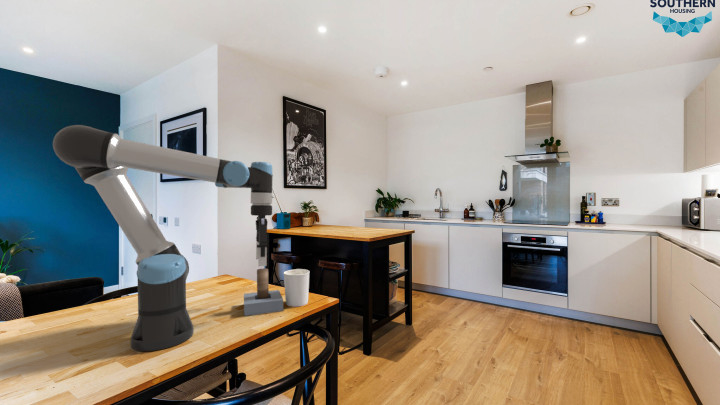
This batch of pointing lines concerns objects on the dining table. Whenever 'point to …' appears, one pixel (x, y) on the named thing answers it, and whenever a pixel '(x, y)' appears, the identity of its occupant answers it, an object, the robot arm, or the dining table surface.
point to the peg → (262, 284)
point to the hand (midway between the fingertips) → (261, 262)
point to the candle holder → (296, 287)
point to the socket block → (262, 303)
